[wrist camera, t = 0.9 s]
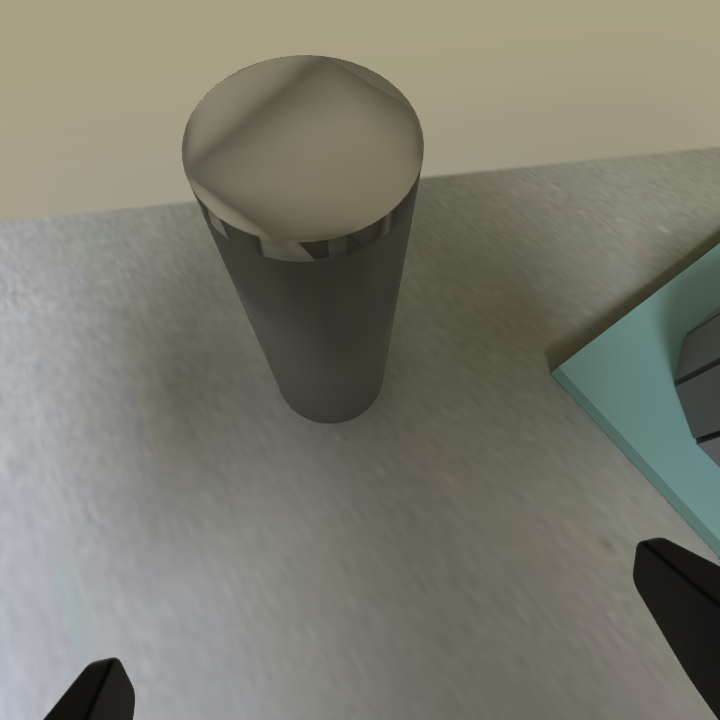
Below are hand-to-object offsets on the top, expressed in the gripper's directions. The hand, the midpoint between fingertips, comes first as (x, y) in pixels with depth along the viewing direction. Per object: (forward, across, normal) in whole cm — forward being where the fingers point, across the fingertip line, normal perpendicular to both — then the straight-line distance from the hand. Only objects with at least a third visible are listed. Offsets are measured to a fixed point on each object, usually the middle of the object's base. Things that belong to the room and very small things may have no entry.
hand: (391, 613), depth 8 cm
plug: (+13, 0, +1) cm, 13 cm away
